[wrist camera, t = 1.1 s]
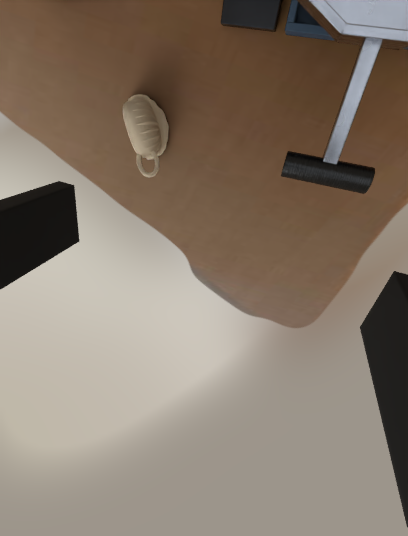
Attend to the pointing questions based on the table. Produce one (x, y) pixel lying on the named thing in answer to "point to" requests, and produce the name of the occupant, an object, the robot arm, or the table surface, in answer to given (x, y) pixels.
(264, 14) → the stand
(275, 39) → the table surface
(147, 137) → the decorative ornament
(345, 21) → the grey frying pan
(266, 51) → the table surface
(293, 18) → the tray
